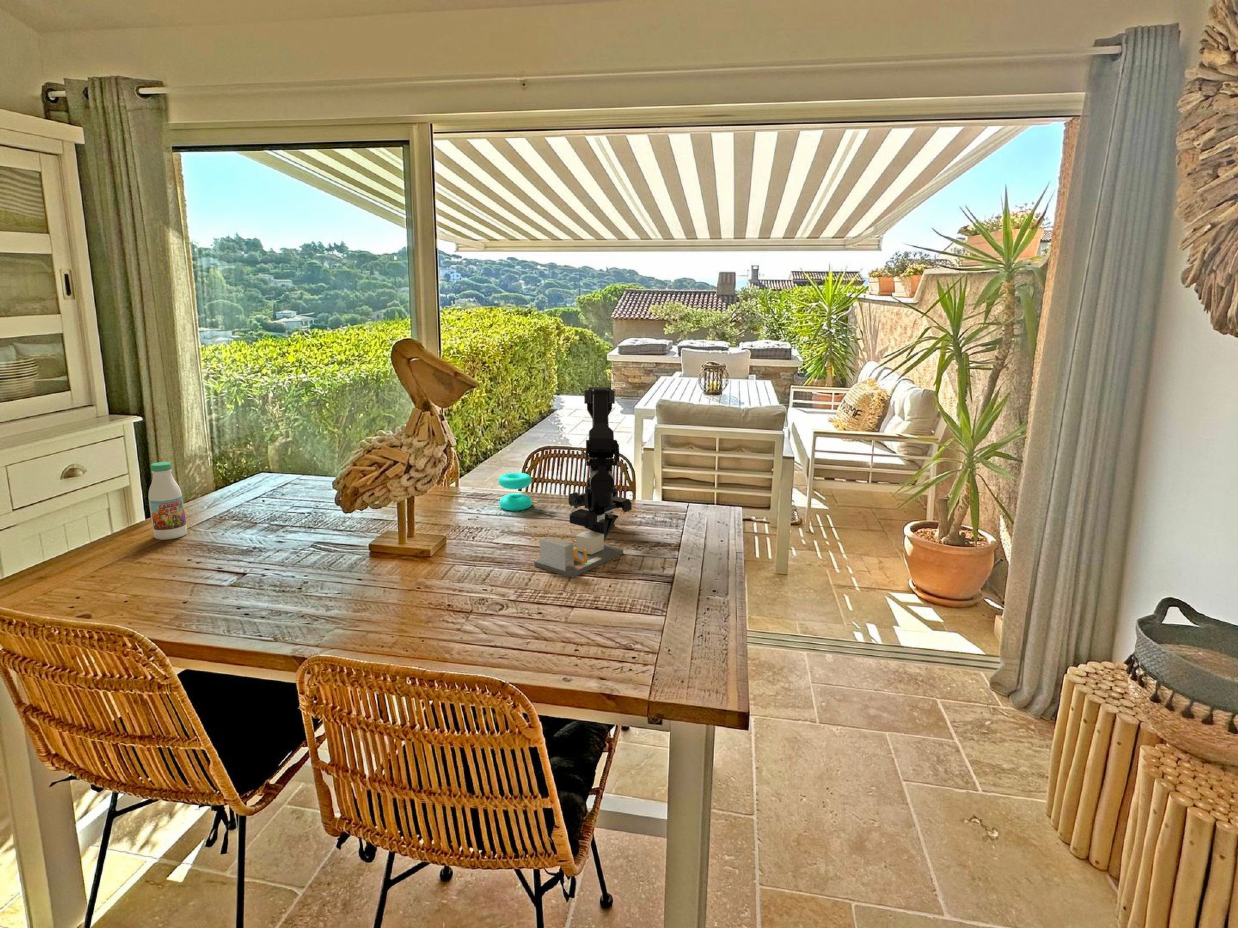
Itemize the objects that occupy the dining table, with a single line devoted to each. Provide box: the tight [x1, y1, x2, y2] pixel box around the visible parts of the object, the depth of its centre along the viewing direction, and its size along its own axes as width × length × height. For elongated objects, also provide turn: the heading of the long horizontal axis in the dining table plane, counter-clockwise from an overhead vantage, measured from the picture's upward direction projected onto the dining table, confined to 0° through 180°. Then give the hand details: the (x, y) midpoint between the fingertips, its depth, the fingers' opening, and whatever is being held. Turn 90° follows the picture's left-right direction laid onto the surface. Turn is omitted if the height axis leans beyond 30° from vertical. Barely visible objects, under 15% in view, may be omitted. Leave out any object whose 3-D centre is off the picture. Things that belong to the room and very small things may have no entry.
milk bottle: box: [147, 461, 188, 540], centre depth 193 cm, size 8×8×20 cm
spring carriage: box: [575, 529, 605, 555], centre depth 183 cm, size 5×5×4 cm
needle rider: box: [574, 547, 587, 564], centre depth 176 cm, size 2×8×4 cm, turn 53°
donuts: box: [498, 472, 533, 512], centre depth 222 cm, size 10×10×10 cm
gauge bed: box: [533, 536, 624, 579], centre depth 180 cm, size 20×12×7 cm, turn 143°
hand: (601, 542), depth 187 cm, fingers closed
